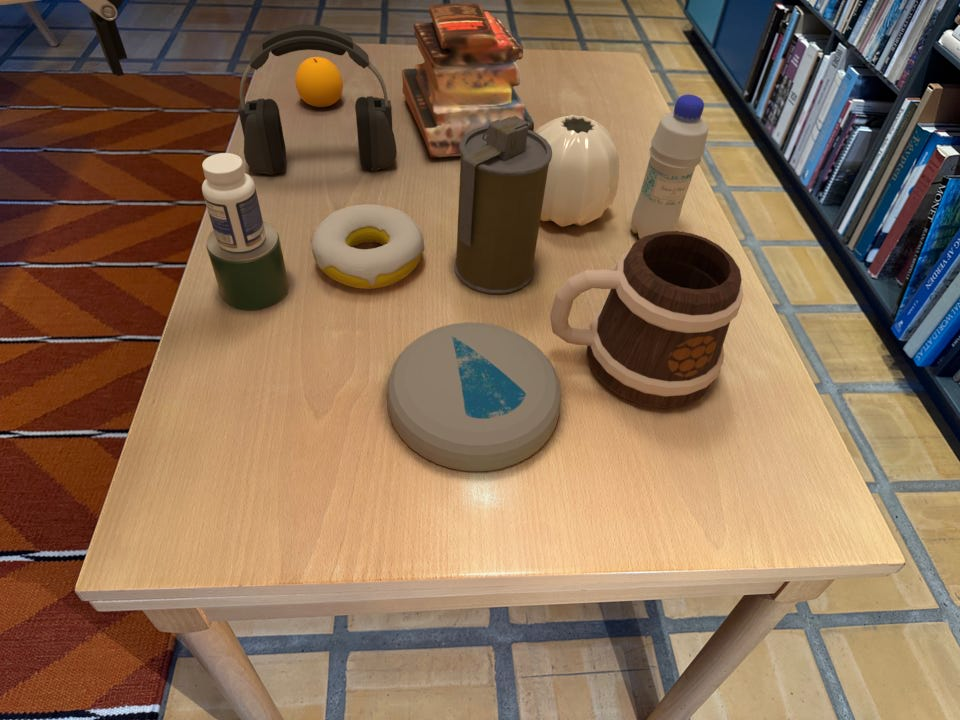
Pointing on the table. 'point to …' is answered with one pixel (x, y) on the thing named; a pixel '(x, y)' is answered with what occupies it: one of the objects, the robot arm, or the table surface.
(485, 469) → the frisbee
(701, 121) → the bottle
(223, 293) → the tin can
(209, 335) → the table surface
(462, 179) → the canister
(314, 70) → the orange
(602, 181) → the vase
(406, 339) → the table surface
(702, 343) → the mug
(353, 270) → the donut
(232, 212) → the pill bottle
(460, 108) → the book
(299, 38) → the headphones
